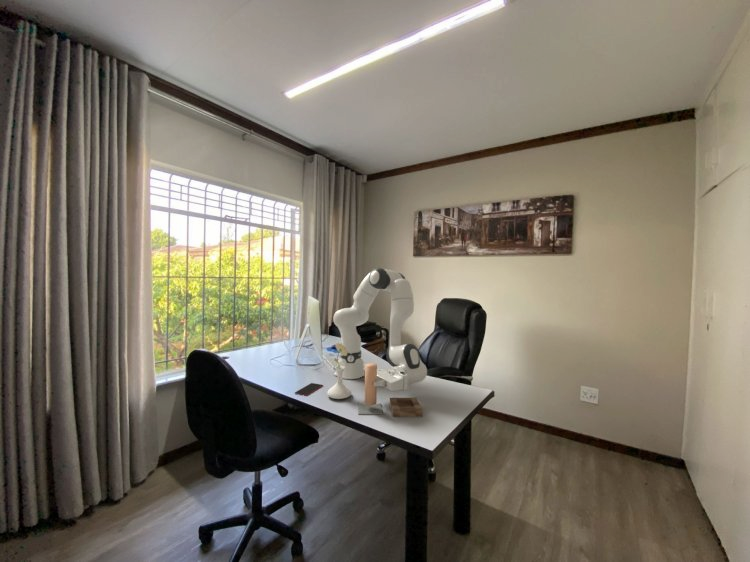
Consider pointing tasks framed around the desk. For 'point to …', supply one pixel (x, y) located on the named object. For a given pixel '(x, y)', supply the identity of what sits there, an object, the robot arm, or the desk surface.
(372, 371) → the peg
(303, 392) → the smartphone
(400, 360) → the robot arm
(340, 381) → the flower in vase
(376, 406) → the mat
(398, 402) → the holder
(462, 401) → the desk surface
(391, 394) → the desk surface
